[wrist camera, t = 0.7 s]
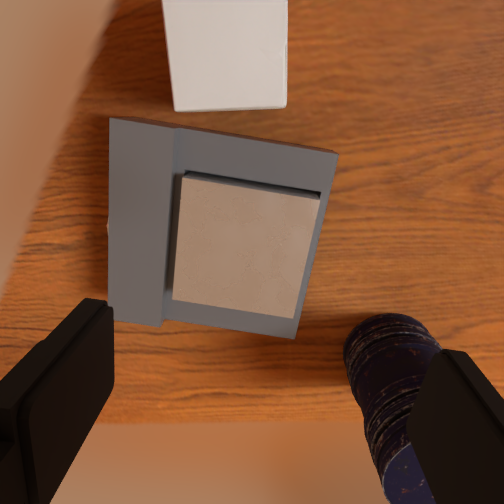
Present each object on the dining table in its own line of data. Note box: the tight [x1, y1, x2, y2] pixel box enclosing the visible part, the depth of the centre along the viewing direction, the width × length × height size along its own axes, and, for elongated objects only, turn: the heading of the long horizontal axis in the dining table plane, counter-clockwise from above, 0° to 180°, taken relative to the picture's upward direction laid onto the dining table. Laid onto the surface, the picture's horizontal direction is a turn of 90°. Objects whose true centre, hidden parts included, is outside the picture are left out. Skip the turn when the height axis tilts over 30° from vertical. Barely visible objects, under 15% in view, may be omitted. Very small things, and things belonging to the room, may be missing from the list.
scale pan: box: [172, 172, 320, 319], centre depth 32 cm, size 11×11×3 cm
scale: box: [106, 117, 339, 339], centre depth 33 cm, size 18×18×5 cm
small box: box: [161, 0, 288, 112], centre depth 24 cm, size 8×6×13 cm
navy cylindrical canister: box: [343, 313, 442, 504], centre depth 33 cm, size 10×10×15 cm
